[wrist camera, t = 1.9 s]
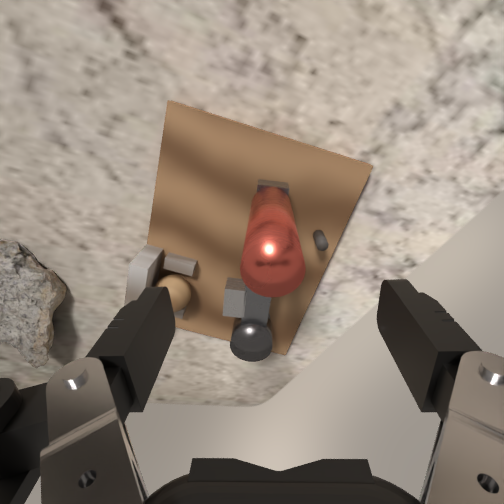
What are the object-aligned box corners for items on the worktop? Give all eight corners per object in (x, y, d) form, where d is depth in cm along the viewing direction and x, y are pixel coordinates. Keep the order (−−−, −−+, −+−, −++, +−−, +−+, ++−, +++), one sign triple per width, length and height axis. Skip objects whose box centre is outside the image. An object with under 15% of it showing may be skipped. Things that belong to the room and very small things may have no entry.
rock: (3, 242, 26) (72, 372, 31) (43, 227, 30) (99, 346, 35) (-94, 257, 30) (-18, 372, 35) (-47, 243, 34) (15, 348, 39)
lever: (269, 343, 31) (269, 467, 20) (222, 337, 31) (198, 458, 20) (297, 183, 24) (322, 246, 13) (236, 176, 24) (209, 232, 13)
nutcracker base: (172, 100, 24) (148, 98, 19) (368, 163, 25) (391, 176, 20) (140, 310, 33) (119, 343, 29) (284, 347, 35) (287, 384, 30)
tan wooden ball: (162, 263, 29) (149, 283, 26) (198, 273, 29) (189, 294, 26) (157, 293, 31) (144, 314, 27) (191, 301, 31) (182, 324, 28)
